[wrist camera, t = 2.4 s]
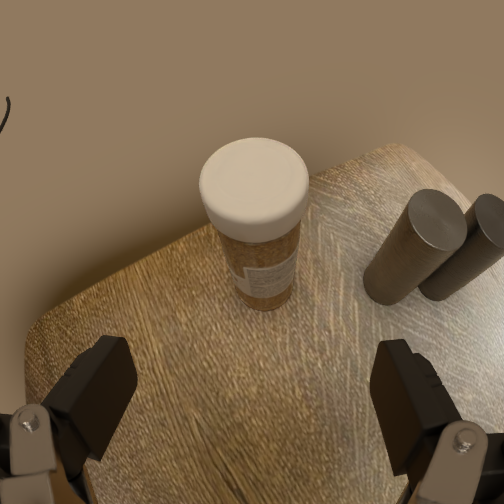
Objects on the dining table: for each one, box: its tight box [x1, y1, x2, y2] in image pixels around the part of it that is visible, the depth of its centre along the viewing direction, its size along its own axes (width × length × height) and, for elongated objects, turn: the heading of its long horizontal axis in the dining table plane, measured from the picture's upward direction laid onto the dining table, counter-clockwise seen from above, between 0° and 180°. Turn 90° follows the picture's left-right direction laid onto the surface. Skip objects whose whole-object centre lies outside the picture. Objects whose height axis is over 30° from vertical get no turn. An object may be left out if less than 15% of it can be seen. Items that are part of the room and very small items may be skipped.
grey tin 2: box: [418, 194, 504, 301], centre depth 18 cm, size 4×4×10 cm
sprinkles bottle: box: [199, 138, 309, 311], centre depth 18 cm, size 5×5×13 cm
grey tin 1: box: [364, 189, 467, 305], centre depth 19 cm, size 4×4×10 cm
